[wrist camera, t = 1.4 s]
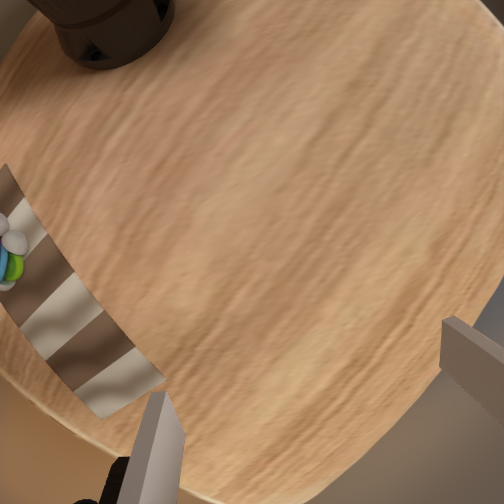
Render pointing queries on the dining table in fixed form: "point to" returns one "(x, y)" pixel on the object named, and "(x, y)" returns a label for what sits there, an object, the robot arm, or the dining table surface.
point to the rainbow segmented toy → (11, 254)
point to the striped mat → (70, 318)
